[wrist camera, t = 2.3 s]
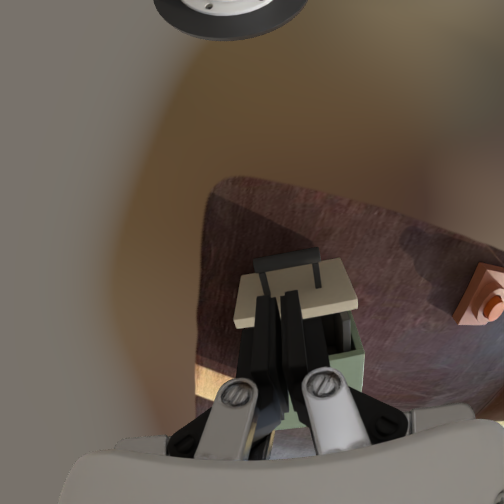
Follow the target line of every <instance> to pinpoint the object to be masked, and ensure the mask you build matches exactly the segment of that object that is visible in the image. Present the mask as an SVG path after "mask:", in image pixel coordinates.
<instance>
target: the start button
mask: <svg viewBox="0 0 504 504" xmlns="http://www.w3.org/2000/svg"><path fill="white" fill-rule="evenodd" d="M503 310H504V302H503V301H502V300H501V299H500V298H499V297H498V296H494V297H492V298H491V299H490V300H489V301H488V303H487V304H486V306H485V308H484V310H483V313H484V315H485V316H486V317H487V318H488V320H489V321H494V320H496V319H497V318H498V317H499V316H500V315H501V313H502V312H503Z"/></svg>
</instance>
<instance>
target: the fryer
mask: <svg viewBox="0 0 504 504" xmlns="http://www.w3.org/2000/svg"><path fill="white" fill-rule="evenodd" d="M348 314H349V317H350V332H351V351H349V352H344V353H339V354H334V355H328V356H329V361H330V367H332V368H334V369H337V370H339V371H340V372H341V373H342V374H343V376H344V377H345V379H346V382H347V384H348V386H350V387H352V388H354V389H356V390H358V391H360V392H362V382H363V371H364V357H365V353H364V350H363V346H362V343H361V340H360V337H359V334H358V331H357V328H356V325H355V322H354V319H353V316H352V313H351V310H348ZM284 418H285V420H281V424H280V425H279V426H277V427H276V428H275V430H280V429H290V428H299V427H307V426H306V425H304V424H303V423H301V422H299V419H298V415H297V412H294V410H293V406H292V402H291V398H290V395H289V413H284Z"/></svg>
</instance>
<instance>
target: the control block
mask: <svg viewBox="0 0 504 504" xmlns="http://www.w3.org/2000/svg"><path fill="white" fill-rule="evenodd" d="M494 296H498V297H499V298H500V299H501V300H502V301H503V302H504V268H503V267H499V266H494V265H490V264H486V263H482V262H479V263H478V266H477V268H476V270H475V272H474V275H473V277H472V279H471V281H470V283H469V285H468V287H467V289H466V291H465V293H464V295H463V297H462V299H461V301H460V303H459V305H458V307H457V308H456V310H455V312H454V314H453V316H452V317H453V318H454V320H455V321H456V323H457V324H458V325H486V323H487V322H489V320H488V318H487V317H486V316H485V315H484V313H483V310H484V308H485V306H486V304H487V303H488V301H489V300H490V299H491V298H492V297H494Z"/></svg>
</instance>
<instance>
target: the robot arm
mask: <svg viewBox="0 0 504 504" xmlns="http://www.w3.org/2000/svg"><path fill="white" fill-rule="evenodd" d="M181 1H182V2H183V3H184V4H185V5H187V6H188V7H189V8H191V9H193V10H195V11H197V12H200V13H203V14H208V15H214V16H231V15H239V14H244V13H248V12H251V11H254V10H257V9H259V8H261V7H263V6H265V5H267V4H269V3H270V2H271V1H273V0H263V1H259V0H181ZM209 8H211V9H209ZM280 306H281V317H280V313H279V309H278V304H277V300H276V297H272V298H271V296H270V294H269V295H263V296H257V298H256V310H255V322H254V328H249V329H243V330H242V335H241V343H240V350H239V358H238V365H237V373H236V378H235V379H232V380H229V381H227V382H226V383H224V384H223V385H222V386H221V387H220V389H219V391H218V392H217V395H216V398H215V401H214V404H213V406H212V407H211V408H210V409H208V410H207V411H205V412H204V413H203V414H201V415H200V416H199V417H197V418H196V419H194V420H193V421H191V422H190V423H189V424H187V425H186V426H184V427H183V428H181V429H180V430H178V431H177V432H176V433H174V434H173V435H172V436H169V437H168V436H167V435H158V436H149V437H137V438H136V437H135V438H125V439H122V440H120V441H119V442H117V444H116V445H115V447H114V449H108V450H100V451H95V452H91V453H87V454H85V455H83V456H81V457H80V458H79V459H78V460H77V461H76V462H75V464H74V465H73V467H72V468H71V470H70V472H69V474H68V477H67V479H66V481H65V484H64V486H63V489H62V491H61V494H60V497H59V500H58V503H57V504H504V428H503V426H501V425H500V424H499V423H497V422H495V421H492V420H486V419H475V414H474V411H473V409H472V408H471V407H470V406H469V405H468V404H466V403H453V404H447V405H440V406H433V407H426V408H417V409H412V410H411V411H410V412H402V411H400V410H398V409H396V408H394V407H392V406H390V405H387V404H385V403H383V402H381V401H379V400H377V399H374V398H372V397H370V396H368V395H366V394H364V393H362V392H360V391H358V390H356V389H354V388H352V387H350V386H348V384H347V382H346V379H345V377H344V376H343V374H342V373H341V372H340V371H339V370H337V369H334V368H332V367H330V361H329V356H328V351H327V345H326V340H325V335H324V330H323V325H322V320H321V317H319V318H314V319H308V320H303V317H302V311H301V305H300V299H299V294H298V290H292V291H287V292H285V295H284V296H280ZM289 395H290V398H291V402H292V406H293V410H294V412H297V415H298V419H299V422H301V423H303V424H304V425H306V426H307V427H309V428H310V433H311V437H312V441H313V445H314V449H315V453H316V456H310V457H302V458H292V459H279V460H269V459H270V455H271V450H272V445H273V440H274V435H275V428H276V427H277V426H279V425H280V424H281V420H285V418H284V413H289Z"/></svg>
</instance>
